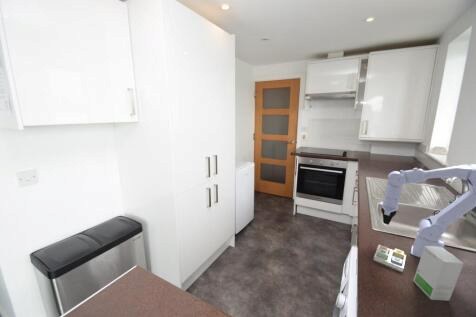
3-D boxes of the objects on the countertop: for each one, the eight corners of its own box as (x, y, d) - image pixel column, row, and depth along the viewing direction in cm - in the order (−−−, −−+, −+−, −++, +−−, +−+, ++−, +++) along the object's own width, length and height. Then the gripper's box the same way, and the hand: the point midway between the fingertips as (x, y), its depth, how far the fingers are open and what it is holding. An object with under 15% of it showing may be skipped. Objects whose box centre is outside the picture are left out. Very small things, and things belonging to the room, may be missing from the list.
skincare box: (412, 281, 79) (422, 244, 76) (430, 282, 79) (441, 245, 75) (431, 300, 71) (443, 261, 67) (451, 302, 71) (465, 262, 67)
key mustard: (403, 255, 90) (404, 251, 90) (402, 259, 88) (403, 254, 87) (394, 252, 92) (395, 247, 92) (393, 256, 90) (394, 251, 89)
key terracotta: (388, 252, 94) (389, 248, 93) (387, 256, 91) (388, 251, 91) (380, 249, 96) (381, 245, 95) (378, 252, 93) (379, 248, 93)
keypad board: (405, 259, 91) (406, 255, 91) (402, 272, 83) (403, 268, 83) (378, 248, 98) (378, 244, 97) (373, 260, 90) (374, 256, 89)
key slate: (401, 264, 87) (402, 259, 86) (400, 268, 84) (401, 263, 84) (391, 260, 89) (393, 255, 88) (390, 264, 87) (391, 259, 86)
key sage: (387, 256, 90) (388, 251, 89) (386, 259, 87) (387, 255, 87) (378, 252, 92) (379, 248, 91) (377, 256, 90) (378, 251, 89)
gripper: (384, 190, 105) (379, 215, 108) (378, 199, 94) (373, 226, 98) (401, 194, 100) (395, 220, 104) (398, 204, 90) (391, 232, 93)
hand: (386, 223), depth 100 cm, fingers closed
